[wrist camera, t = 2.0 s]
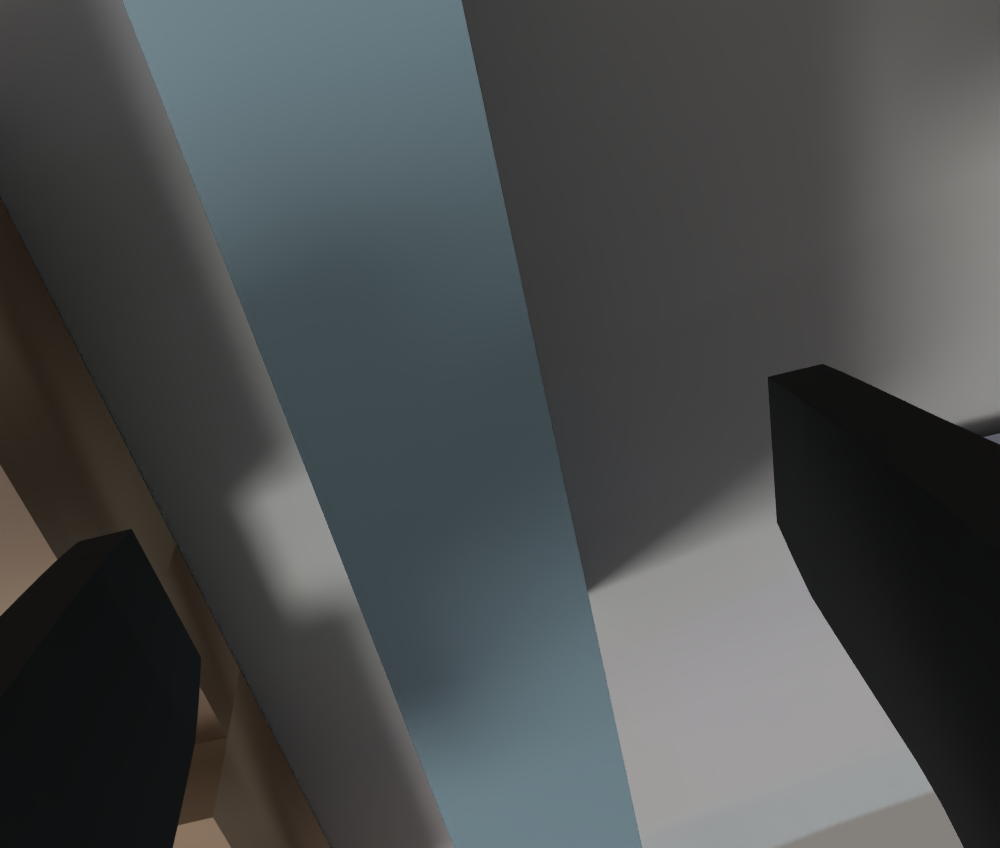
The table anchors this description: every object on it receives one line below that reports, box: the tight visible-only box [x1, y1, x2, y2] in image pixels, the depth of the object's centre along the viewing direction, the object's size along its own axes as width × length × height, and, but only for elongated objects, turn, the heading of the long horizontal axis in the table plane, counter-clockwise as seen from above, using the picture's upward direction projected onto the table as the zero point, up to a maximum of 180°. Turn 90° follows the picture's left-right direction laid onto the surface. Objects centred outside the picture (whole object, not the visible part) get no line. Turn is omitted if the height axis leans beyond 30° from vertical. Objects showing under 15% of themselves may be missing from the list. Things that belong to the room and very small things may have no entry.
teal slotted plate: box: [123, 0, 642, 848], centre depth 12 cm, size 14×2×8 cm, turn 12°
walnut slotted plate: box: [0, 199, 331, 848], centre depth 17 cm, size 20×2×4 cm, turn 12°
